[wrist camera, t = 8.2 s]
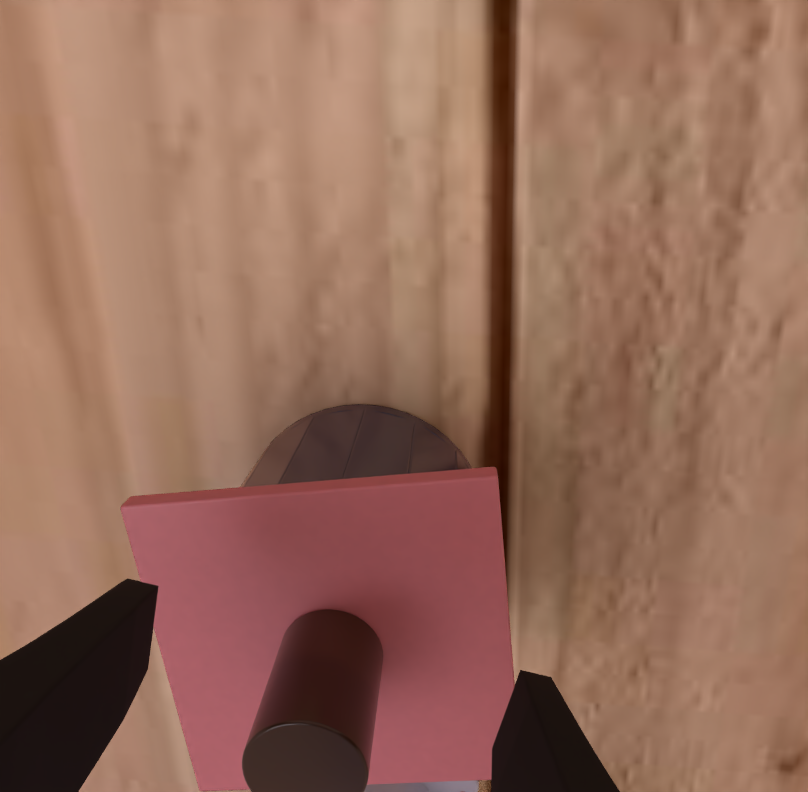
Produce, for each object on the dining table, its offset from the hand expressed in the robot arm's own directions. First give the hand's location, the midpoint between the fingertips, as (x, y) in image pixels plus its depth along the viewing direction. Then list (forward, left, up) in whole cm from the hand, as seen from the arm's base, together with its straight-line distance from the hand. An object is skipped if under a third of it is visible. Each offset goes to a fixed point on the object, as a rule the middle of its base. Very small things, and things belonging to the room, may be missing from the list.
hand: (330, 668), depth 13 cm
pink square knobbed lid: (-3, 0, -4) cm, 5 cm away
